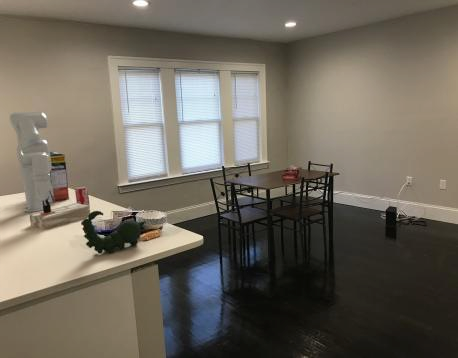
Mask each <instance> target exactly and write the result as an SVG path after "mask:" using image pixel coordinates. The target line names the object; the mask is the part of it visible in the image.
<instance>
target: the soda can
mask: <svg viewBox="0 0 458 358" xmlns="http://www.w3.org/2000/svg"><path fill="white" fill-rule="evenodd" d="M74 190H75V191H74V192H75V201H76V203H77V204H83V205H89V207H90V206H91V204H90V197H89V189H88V188H87V186H76V187H75V189H74Z"/></svg>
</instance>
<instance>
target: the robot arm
mask: <svg viewBox="0 0 458 358" xmlns="http://www.w3.org/2000/svg"><path fill="white" fill-rule="evenodd" d="M9 121H10V123H11V125H12V128H13V130H14V132H15V133H16V136H17V137H16V138H17V147H16V156H17V160H18V168H19V171H20V174H21V178H22V182H23V188H24V194H25V195H24V196H25V200H26V201H25V203H26V204H25V206H26V208H25V209H24V212H25V213H37V212H42V211H44V213H48V212H51V209H52V208H51V207H52V206H51V203H52V202H53V201H52V199H53V197H54V196H53V189H52V185H51V181H50V180H51V178H50V171H51V169H52V165H51V158H50V152H51V151H50V147H49V146H50V145H49V143H48V141H47V140H46V139H41V134H40V131H39V129H47V128H48V127H49V120H48V117H47V116H46V114H45V113H44V112H42V111H40V110H39V111H17V112H13V113H10V114H9Z"/></svg>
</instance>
